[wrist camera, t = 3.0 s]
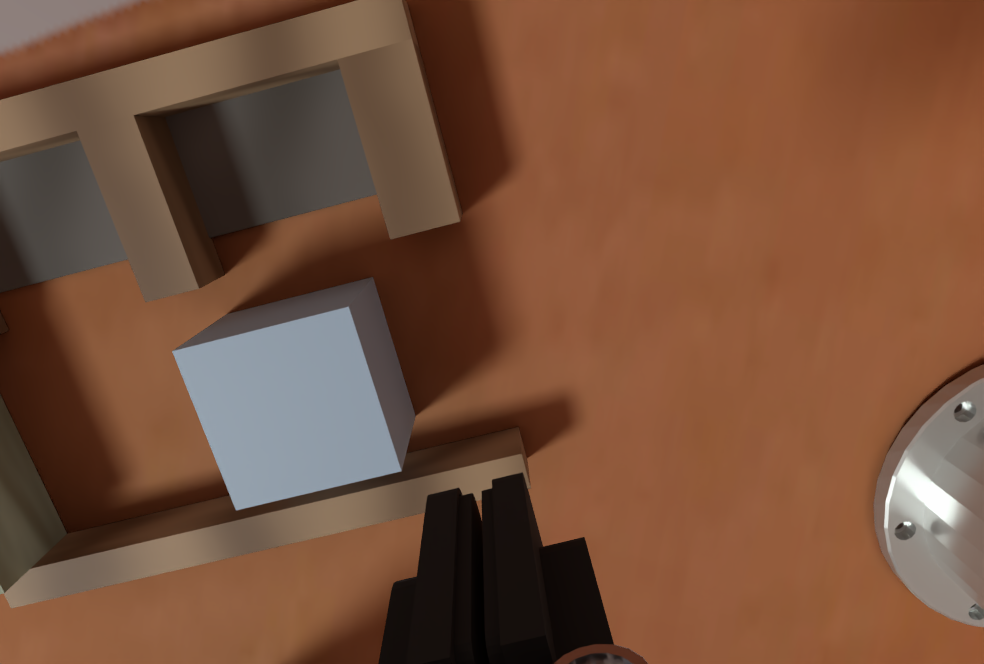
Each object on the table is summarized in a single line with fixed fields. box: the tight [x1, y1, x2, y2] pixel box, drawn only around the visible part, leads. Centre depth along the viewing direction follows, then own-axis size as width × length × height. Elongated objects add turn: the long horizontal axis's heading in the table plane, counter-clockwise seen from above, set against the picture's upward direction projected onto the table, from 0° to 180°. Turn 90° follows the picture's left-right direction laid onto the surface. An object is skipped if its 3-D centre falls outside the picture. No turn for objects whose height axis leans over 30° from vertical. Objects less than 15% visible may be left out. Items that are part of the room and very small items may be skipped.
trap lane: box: [0, 0, 531, 608], centre depth 25 cm, size 22×18×4 cm
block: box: [172, 277, 415, 510], centre depth 25 cm, size 6×6×5 cm
